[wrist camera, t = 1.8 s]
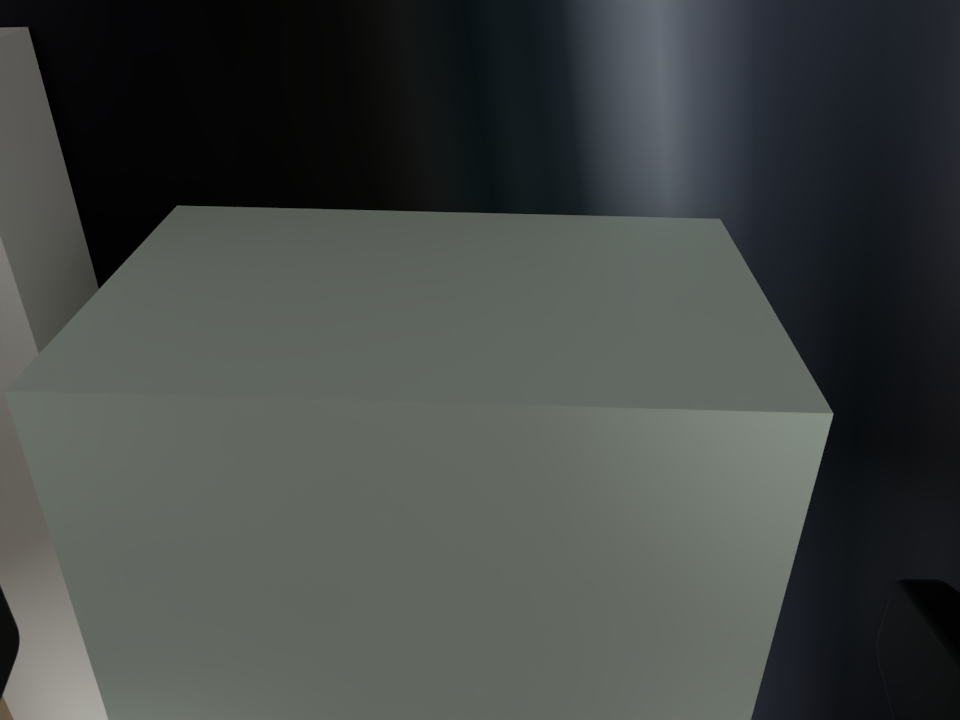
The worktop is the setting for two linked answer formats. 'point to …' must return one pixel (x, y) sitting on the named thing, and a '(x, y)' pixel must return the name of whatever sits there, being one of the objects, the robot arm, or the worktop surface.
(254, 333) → the sage brick
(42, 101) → the baseplate
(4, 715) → the wood brick
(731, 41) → the worktop surface
